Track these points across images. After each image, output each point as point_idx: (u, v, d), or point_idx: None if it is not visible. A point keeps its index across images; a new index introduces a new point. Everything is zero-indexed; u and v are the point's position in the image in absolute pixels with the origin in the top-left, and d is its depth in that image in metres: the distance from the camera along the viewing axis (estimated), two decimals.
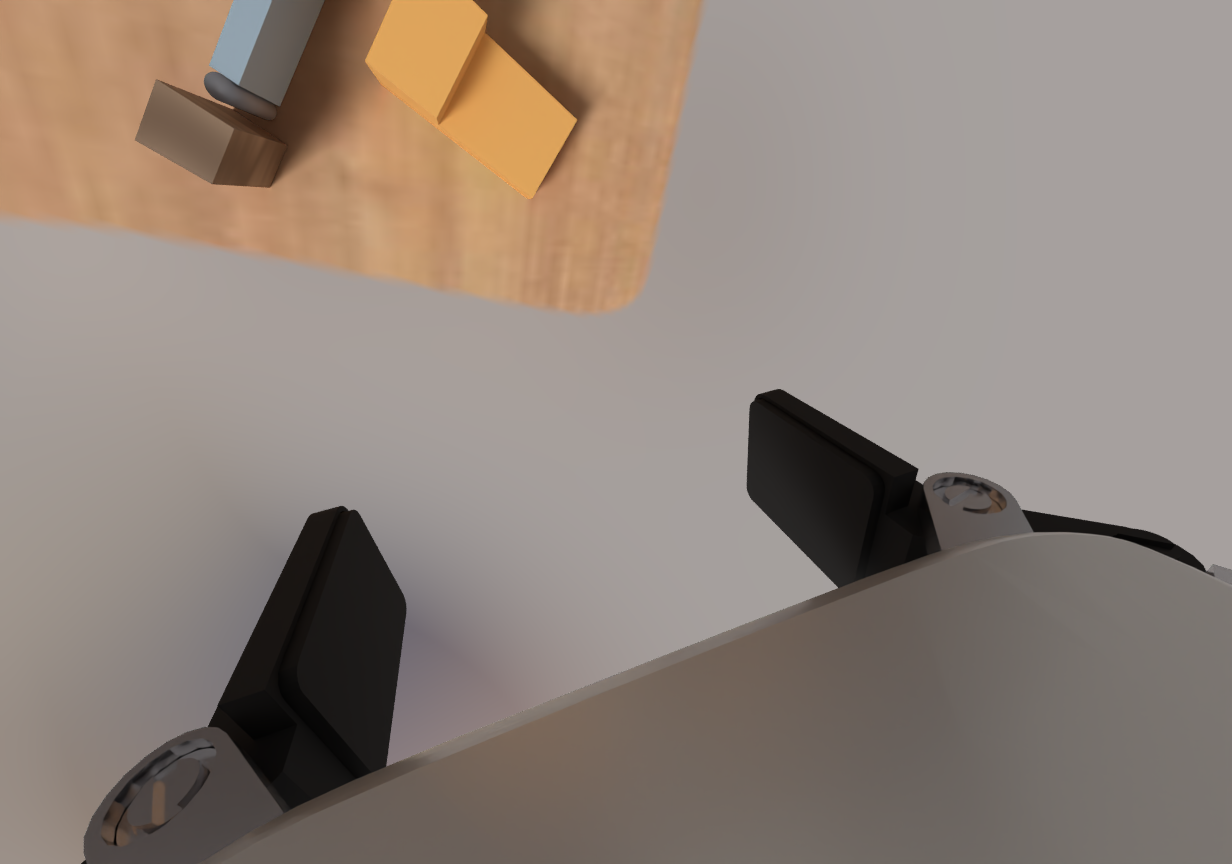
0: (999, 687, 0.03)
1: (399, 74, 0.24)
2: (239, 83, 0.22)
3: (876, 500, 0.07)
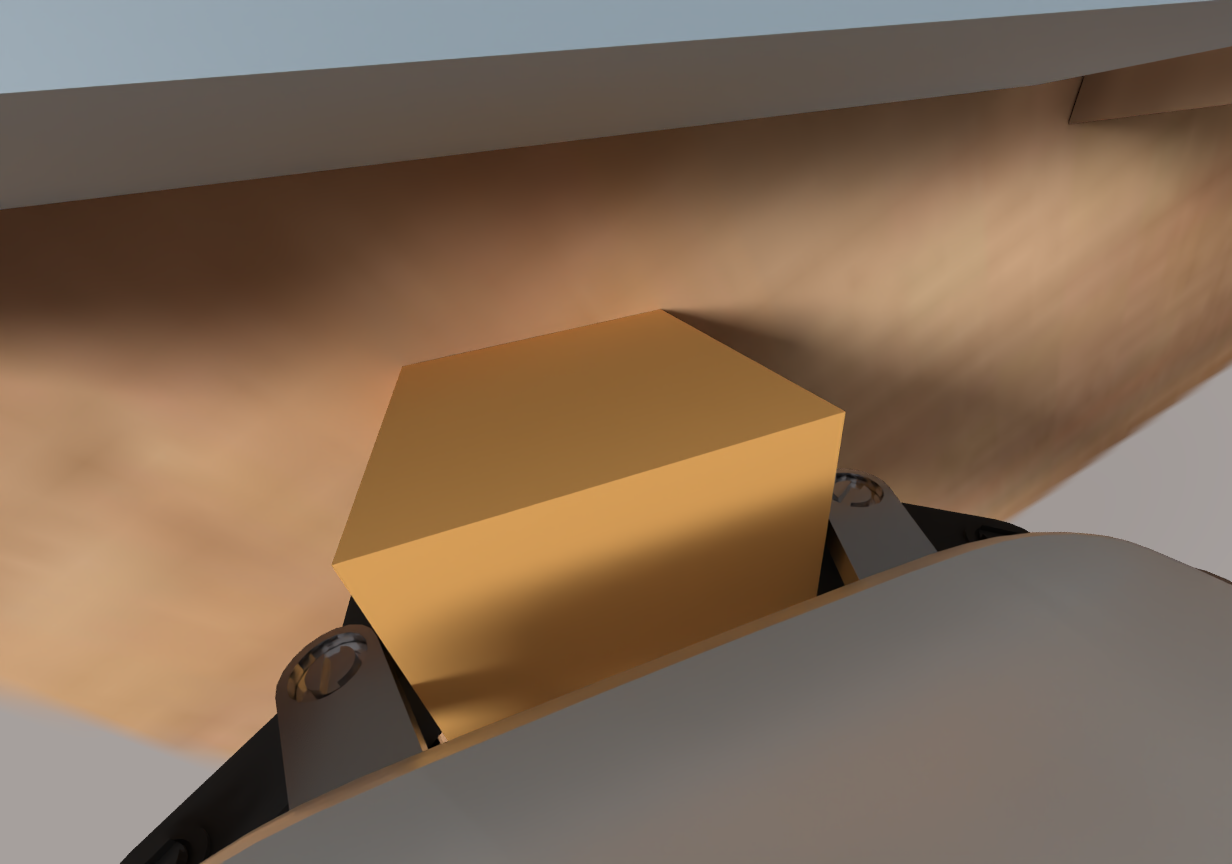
0: (997, 687, 0.03)
1: (445, 641, 0.05)
2: None
3: None
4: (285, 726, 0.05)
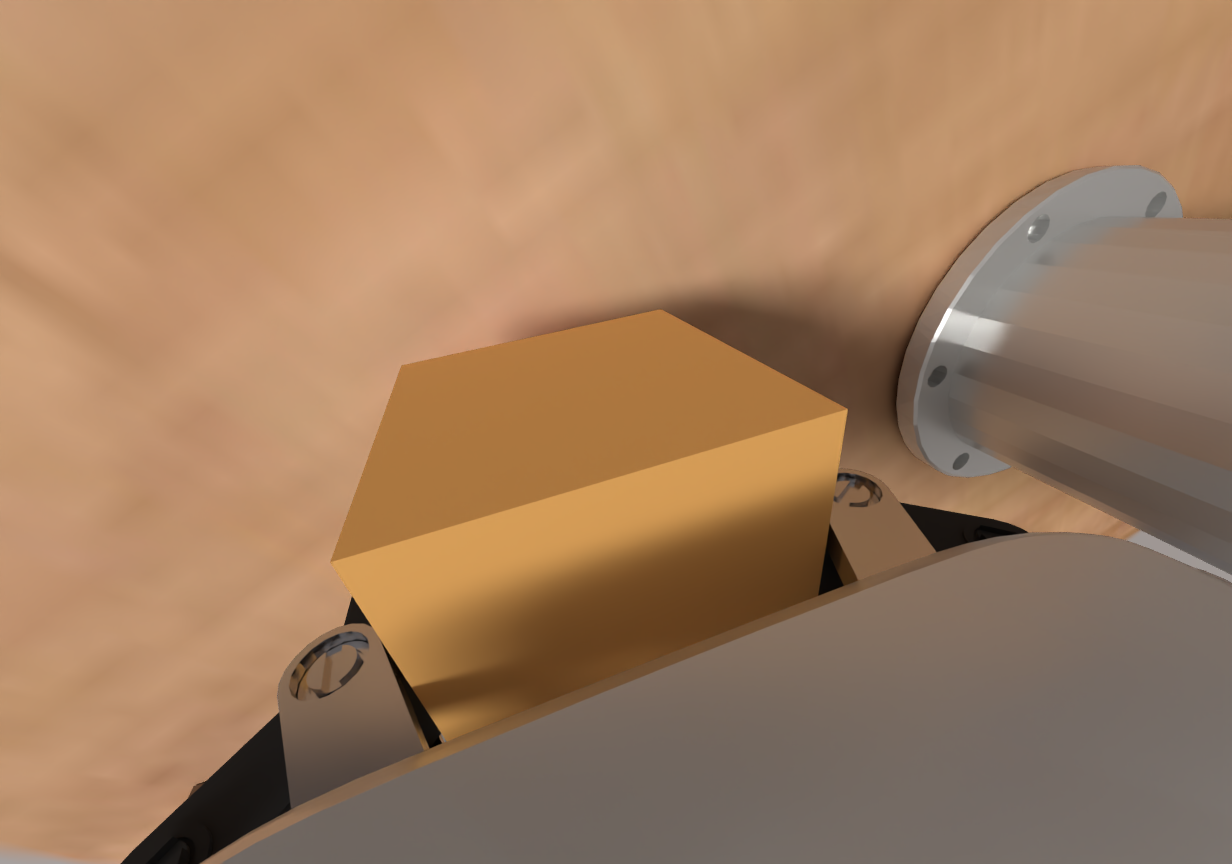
0: (998, 686, 0.03)
1: (445, 640, 0.05)
2: None
3: None
4: (287, 725, 0.05)
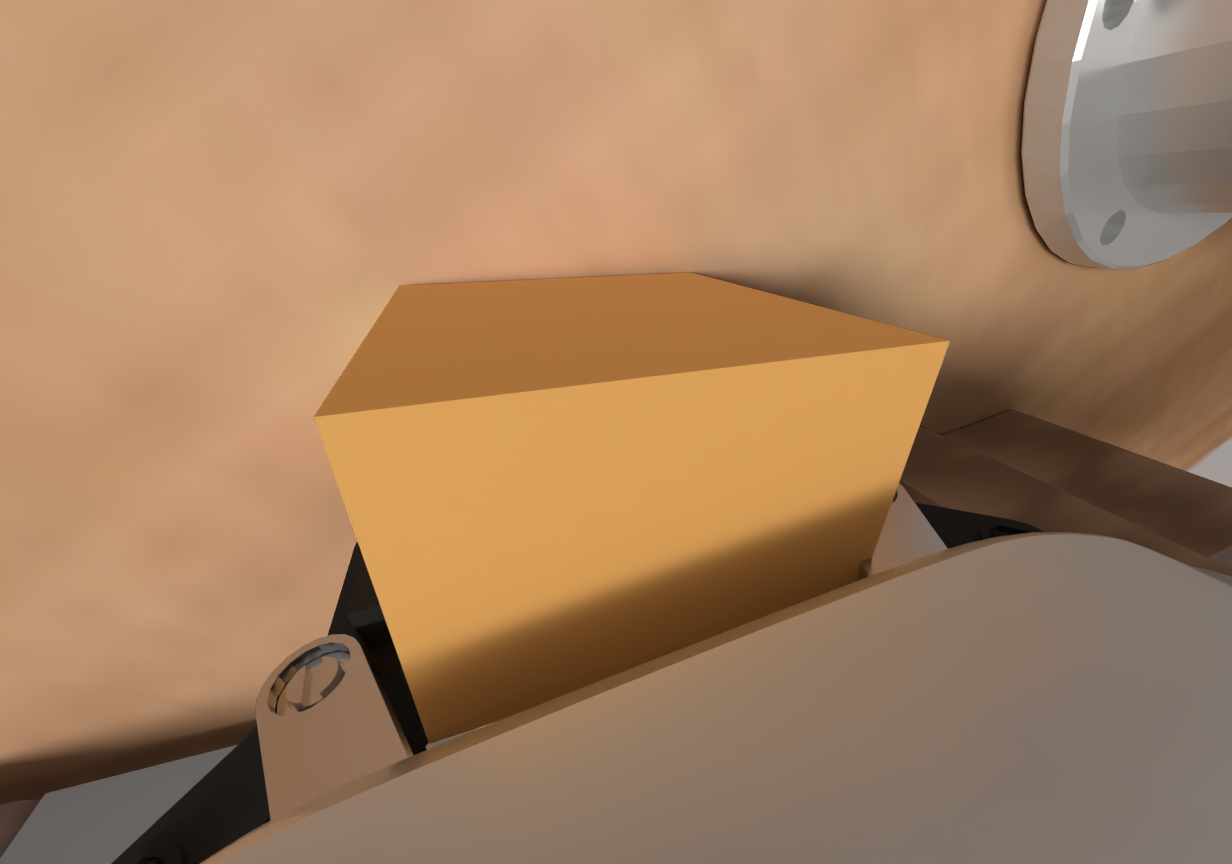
0: (999, 687, 0.03)
1: (446, 568, 0.04)
2: None
3: None
4: (266, 740, 0.05)
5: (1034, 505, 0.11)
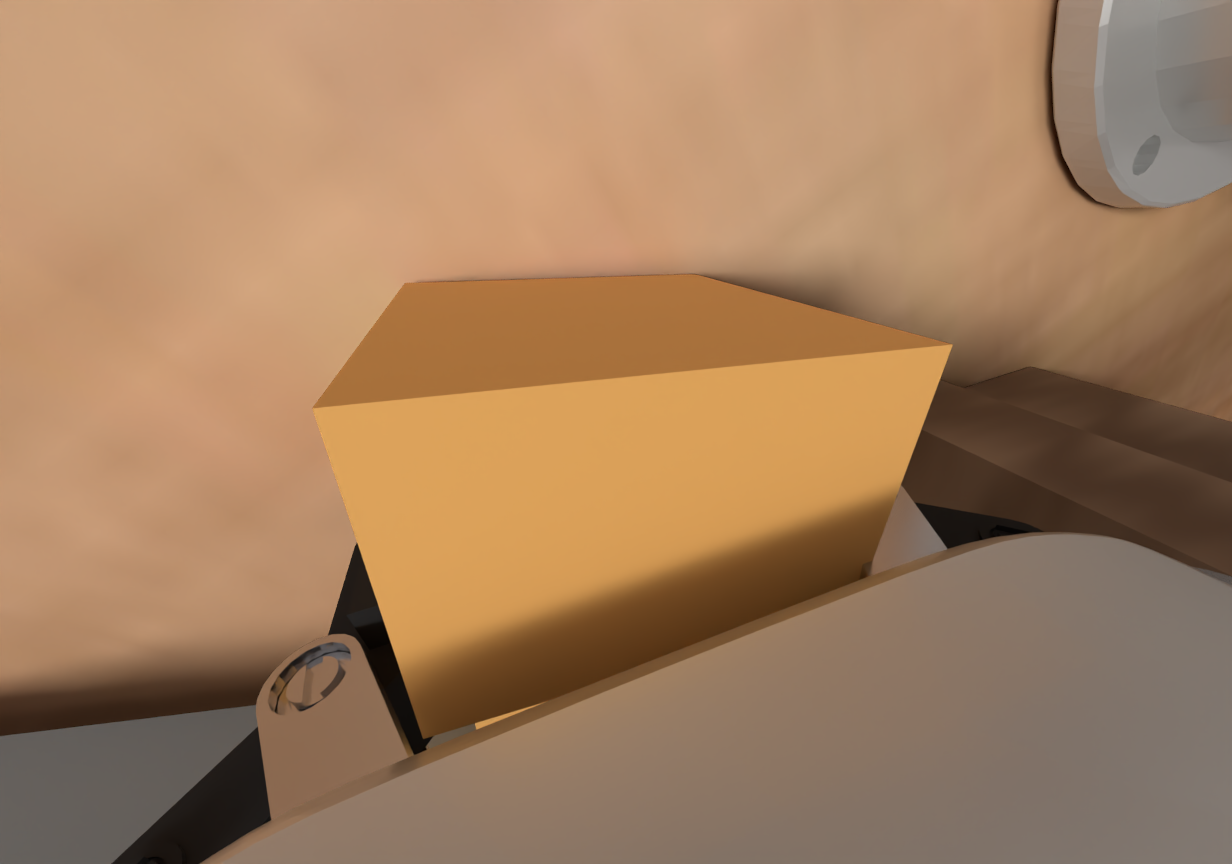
0: (998, 686, 0.03)
1: (442, 563, 0.04)
2: None
3: None
4: (267, 740, 0.05)
5: (1062, 446, 0.11)
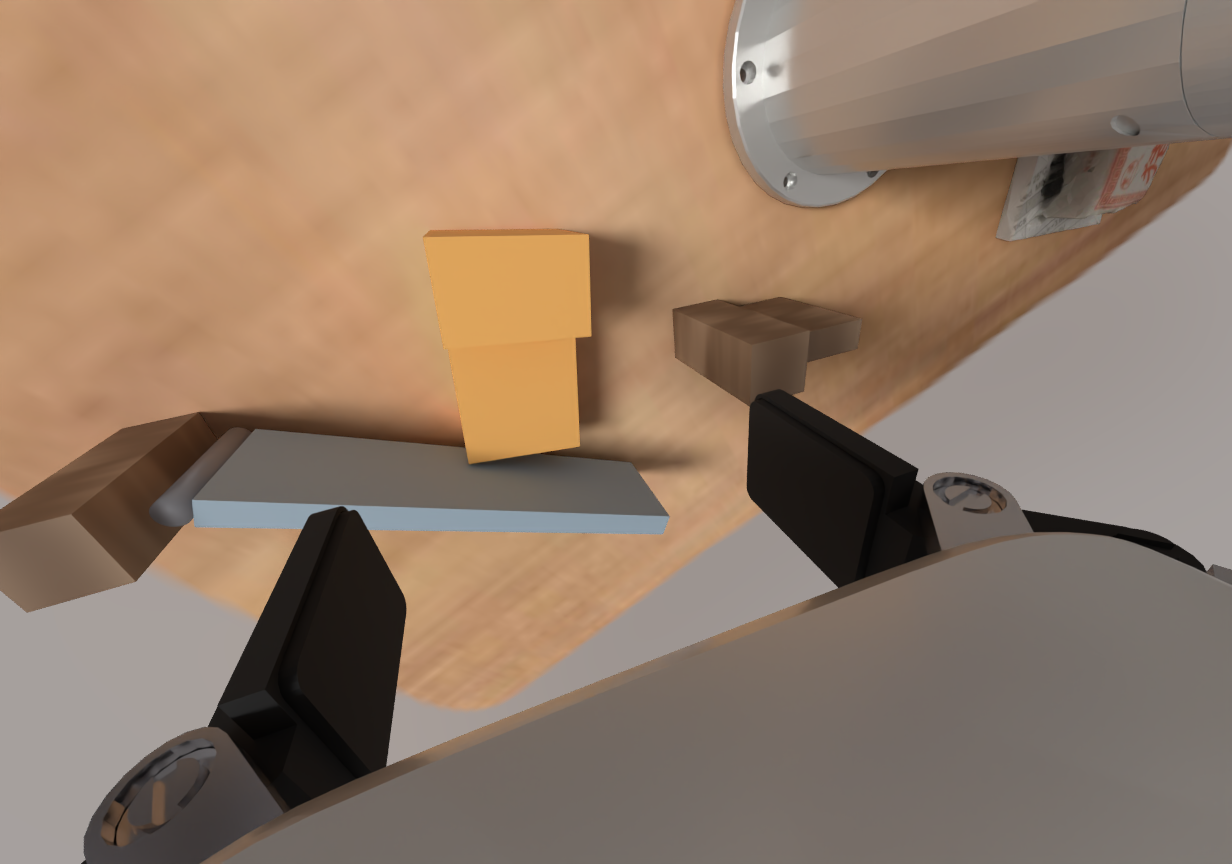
0: (996, 686, 0.03)
1: (448, 283, 0.16)
2: (199, 525, 0.16)
3: (876, 500, 0.07)
4: None
5: (739, 317, 0.22)
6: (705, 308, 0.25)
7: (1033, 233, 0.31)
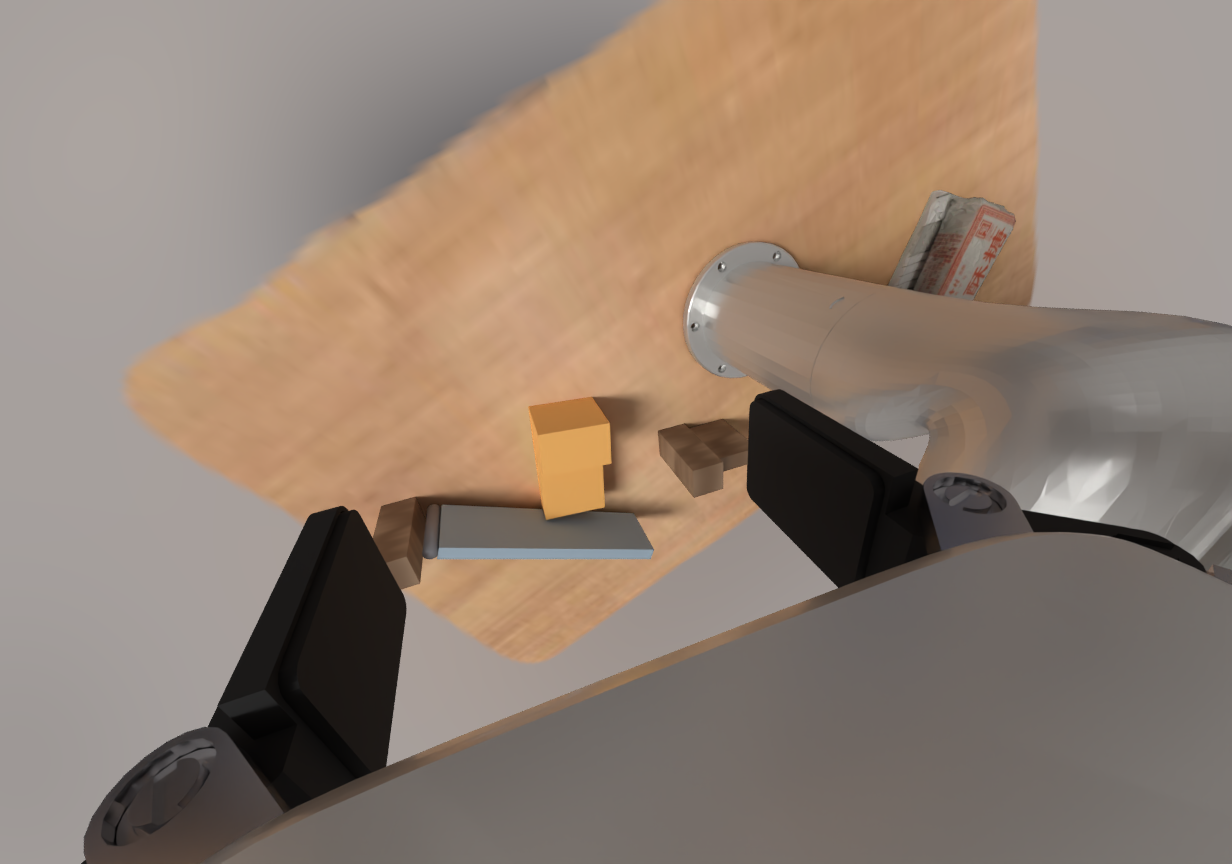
0: (999, 687, 0.03)
1: (547, 450, 0.35)
2: (438, 558, 0.36)
3: (876, 500, 0.08)
4: None
5: (692, 445, 0.42)
6: (676, 432, 0.44)
7: None
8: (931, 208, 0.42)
